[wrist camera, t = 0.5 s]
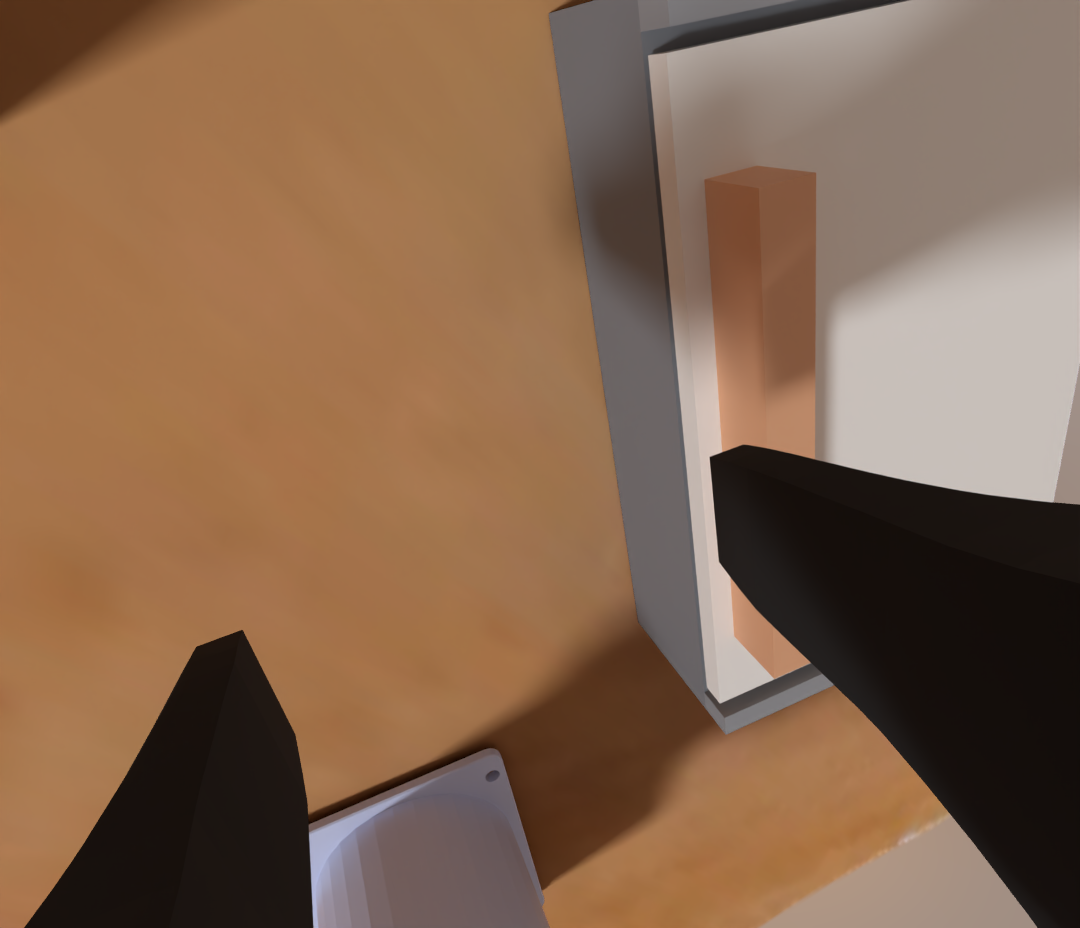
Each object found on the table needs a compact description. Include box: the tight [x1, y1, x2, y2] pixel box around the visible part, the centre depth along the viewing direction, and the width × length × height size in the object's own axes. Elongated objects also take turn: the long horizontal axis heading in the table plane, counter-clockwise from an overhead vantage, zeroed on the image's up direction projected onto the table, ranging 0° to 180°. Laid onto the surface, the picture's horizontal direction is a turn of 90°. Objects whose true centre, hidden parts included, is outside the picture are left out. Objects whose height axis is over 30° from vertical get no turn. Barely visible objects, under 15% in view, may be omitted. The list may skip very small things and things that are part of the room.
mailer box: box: [549, 0, 902, 734], centre depth 21 cm, size 19×12×6 cm, turn 11°
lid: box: [648, 0, 1080, 703], centre depth 18 cm, size 17×12×2 cm
